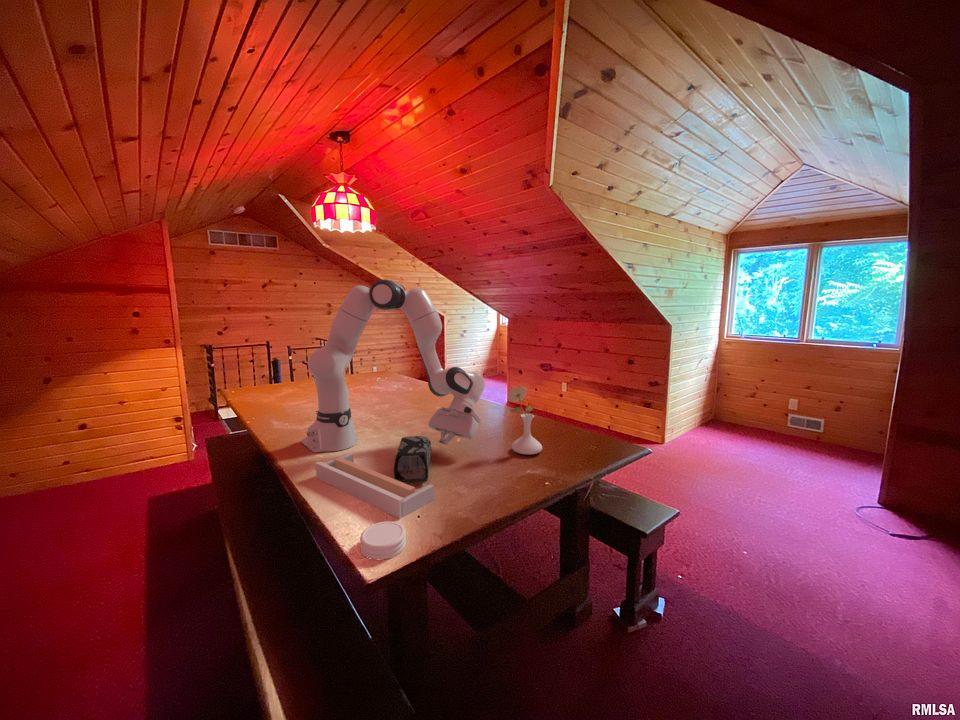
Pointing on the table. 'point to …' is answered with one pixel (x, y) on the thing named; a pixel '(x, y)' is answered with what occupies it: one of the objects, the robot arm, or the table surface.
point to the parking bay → (373, 490)
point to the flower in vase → (526, 441)
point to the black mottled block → (413, 459)
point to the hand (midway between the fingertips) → (442, 443)
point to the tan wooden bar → (374, 477)
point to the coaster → (383, 540)
